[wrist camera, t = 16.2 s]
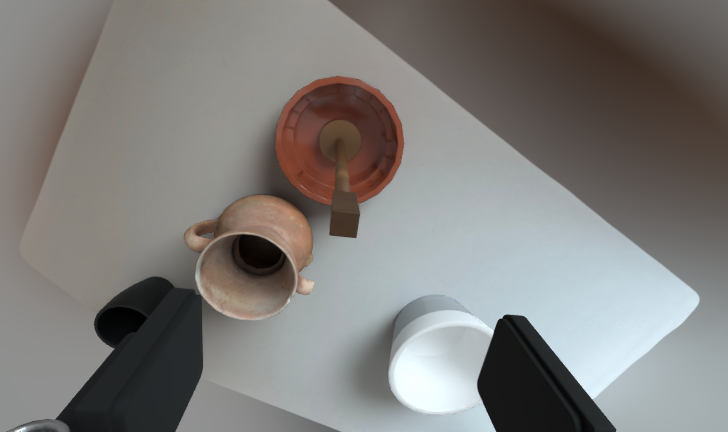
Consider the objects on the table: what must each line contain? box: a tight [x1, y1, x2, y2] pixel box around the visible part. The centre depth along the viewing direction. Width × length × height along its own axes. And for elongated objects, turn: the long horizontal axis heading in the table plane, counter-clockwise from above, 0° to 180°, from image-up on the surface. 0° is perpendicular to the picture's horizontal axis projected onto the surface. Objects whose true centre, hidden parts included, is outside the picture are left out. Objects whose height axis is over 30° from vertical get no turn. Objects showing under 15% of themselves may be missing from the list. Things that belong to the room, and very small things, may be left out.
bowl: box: [388, 295, 494, 415], centre depth 59 cm, size 19×19×11 cm
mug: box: [94, 277, 174, 348], centre depth 53 cm, size 8×12×10 cm
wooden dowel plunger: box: [319, 119, 361, 238], centre depth 35 cm, size 6×6×32 cm
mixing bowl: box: [275, 76, 404, 205], centre depth 47 cm, size 17×17×6 cm
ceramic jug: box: [184, 195, 314, 321], centre depth 48 cm, size 18×14×14 cm
